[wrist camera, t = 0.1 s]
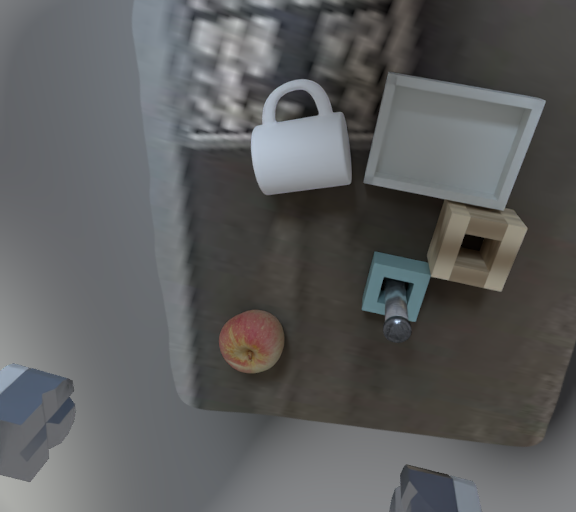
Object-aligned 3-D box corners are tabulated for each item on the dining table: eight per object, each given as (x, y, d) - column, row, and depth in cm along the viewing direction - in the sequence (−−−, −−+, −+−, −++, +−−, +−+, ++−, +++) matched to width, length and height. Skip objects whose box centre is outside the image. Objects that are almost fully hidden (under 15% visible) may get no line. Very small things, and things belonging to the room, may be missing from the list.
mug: (353, 173, 56) (349, 193, 49) (275, 184, 59) (260, 204, 52) (339, 69, 52) (333, 74, 45) (255, 85, 54) (236, 93, 47)
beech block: (445, 196, 55) (452, 213, 50) (513, 209, 55) (527, 228, 49) (426, 255, 59) (431, 276, 54) (490, 268, 58) (501, 291, 53)
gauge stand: (374, 251, 60) (374, 262, 57) (428, 262, 59) (430, 275, 56) (362, 296, 63) (361, 309, 60) (413, 307, 62) (415, 322, 59)
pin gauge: (386, 267, 61) (387, 317, 50) (408, 272, 60) (414, 323, 50) (380, 287, 62) (380, 339, 51) (402, 292, 62) (407, 345, 51)
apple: (220, 311, 69) (201, 343, 62) (270, 290, 65) (256, 321, 58) (250, 356, 71) (236, 391, 64) (300, 337, 68) (290, 372, 61)
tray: (388, 71, 51) (388, 73, 48) (537, 97, 49) (546, 100, 46) (364, 176, 56) (363, 182, 53) (497, 202, 55) (503, 210, 52)
